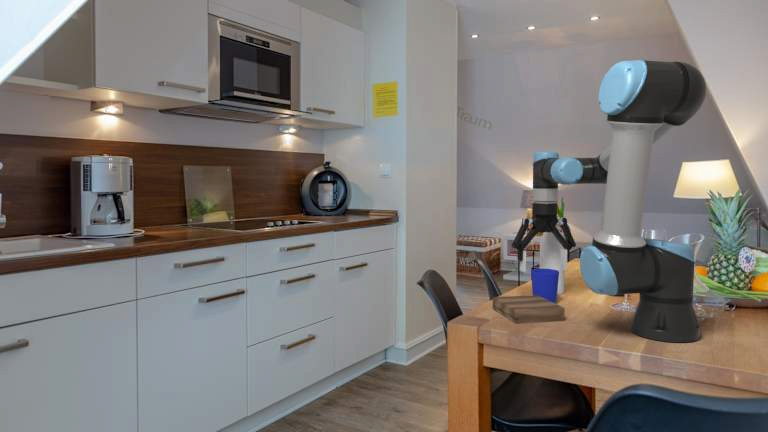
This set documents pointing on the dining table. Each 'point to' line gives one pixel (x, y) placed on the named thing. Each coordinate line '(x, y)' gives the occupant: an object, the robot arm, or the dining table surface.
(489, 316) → the dining table surface
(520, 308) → the board
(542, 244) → the bottle
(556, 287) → the mug
